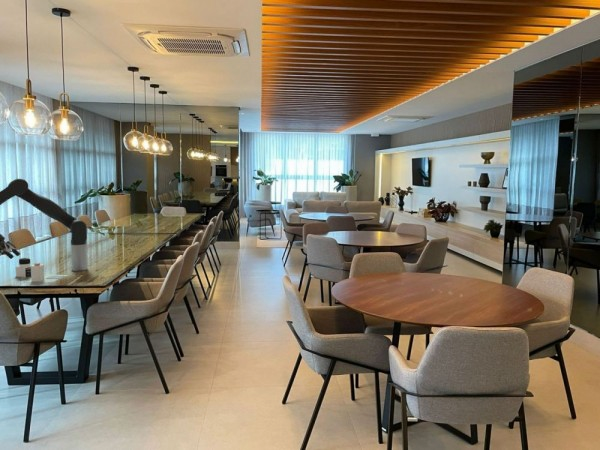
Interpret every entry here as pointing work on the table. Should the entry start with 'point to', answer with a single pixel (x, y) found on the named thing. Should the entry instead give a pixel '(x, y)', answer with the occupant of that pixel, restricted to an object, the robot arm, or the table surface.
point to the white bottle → (37, 272)
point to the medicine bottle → (23, 268)
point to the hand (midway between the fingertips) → (15, 256)
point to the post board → (50, 278)
